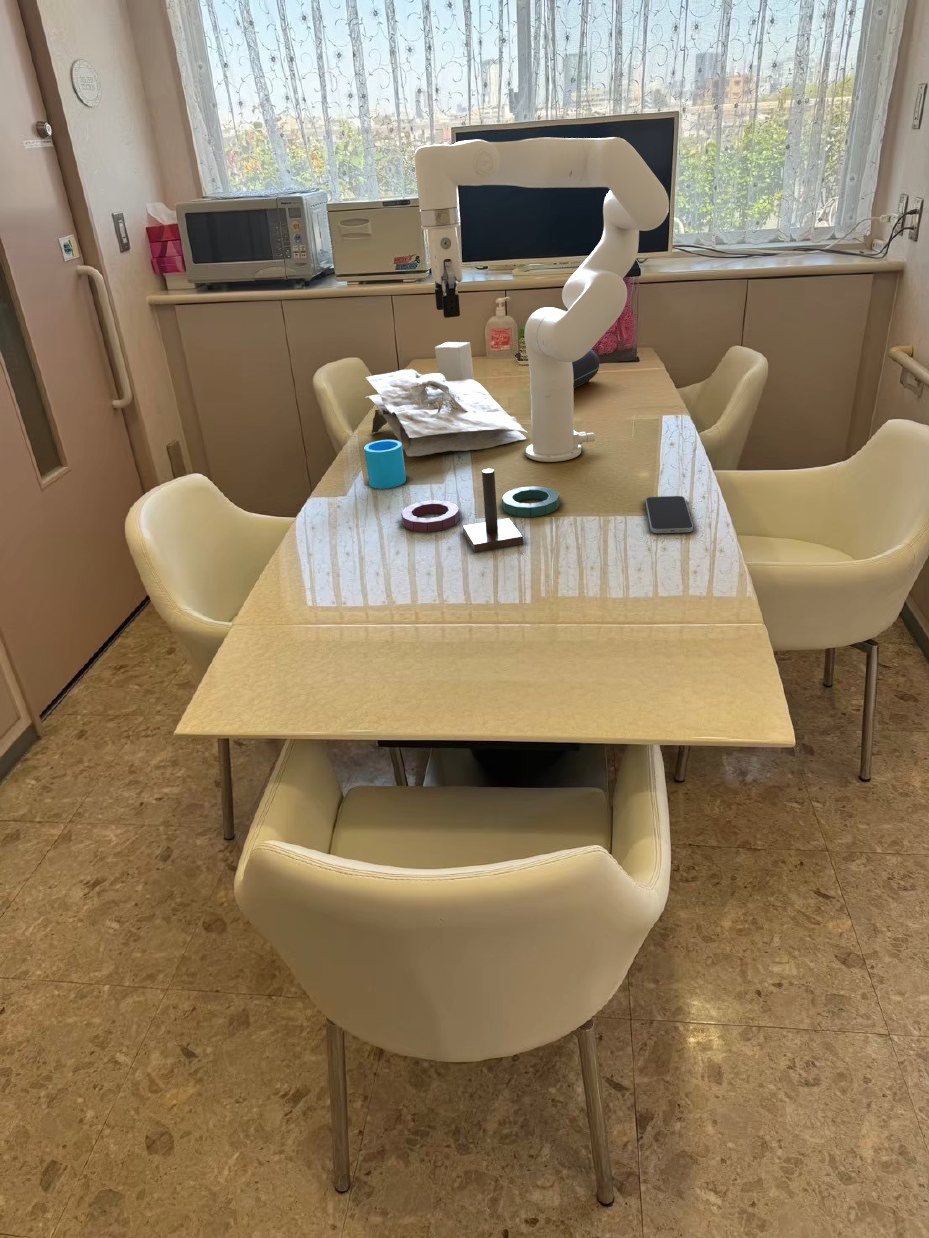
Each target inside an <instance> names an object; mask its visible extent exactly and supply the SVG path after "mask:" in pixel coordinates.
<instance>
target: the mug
mask: <svg viewBox="0 0 929 1238" xmlns="http://www.w3.org/2000/svg"><path fill="white" fill-rule="evenodd" d="M402 447H403V446H402V443H401V442H399V440H395V439H381V440H376V441H372V442H369V443H367V444H365V446H364V447H363V450H364V451H363V452H364V457H365V464H366V472H367V478H368V484H369V487H372V488H375V489H391V488H396V487H400V486H402V485H403V484H405V483H406V482H407V476H406V468H405V467H406V466H405V459H404V449H403V448H402Z"/></svg>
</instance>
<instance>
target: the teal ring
mask: <svg viewBox="0 0 929 1238" xmlns="http://www.w3.org/2000/svg"><path fill="white" fill-rule="evenodd" d="M560 497H561V496H560V494H559V493H558V491H557V490H556V489H553V488H550V487H548V486H547V487H546V486H537V485H536V486H535V485H534V486H533V485H531V486H530V485H529V486H521V487H516V488H513V489H511V490H508V491H507V492H505V493H504V494H503V496H502V497H501V507H502V509H503V511H504V512H505V513H506V514H508V515H511V516H515V517H521V518H522V517H523V518H535V517H541V516H546V515H548V514H551V513H553V512H556V511H557V510H558V508H559V507H560V505H561V503H560V501H561V500H560ZM527 500H541V501H538V502H532V503H531V502H530V503H525V502H521V501H527Z"/></svg>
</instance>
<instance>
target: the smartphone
mask: <svg viewBox="0 0 929 1238" xmlns="http://www.w3.org/2000/svg"><path fill="white" fill-rule="evenodd" d="M645 508H646V512H647V517H648V522H649V528H650V532H651V533H653V534H677V533H691V532H693V530H694V524H693V520H692V517H691V514H690V511H689V507H688V504H687V501H686V498H685V497H684V496H682V495H667V496H649V497H648V496H647V497H646V498H645Z"/></svg>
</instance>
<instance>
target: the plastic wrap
mask: <svg viewBox="0 0 929 1238" xmlns="http://www.w3.org/2000/svg"><path fill="white" fill-rule="evenodd" d="M365 380H367V381H368V383H369V384H370V385H371V386H372V388H373V389H375V390H376V392H377V393H378V394H372V395H367V396H366V398H369V399H370V400H371V401H372V403H373V404H374V405H375V406H376V407H377V409H375V410H374V416H373V419H372V429H371V434H373V433H378V432H379V431H380V430H381V429H382V428H383V427H384V426H386V425H388V427H390V429H391V431H392V432H393V435H394V436H395V437H396V438H397V441H399V442H401V443H402V450H403V451H404V453H405V454H406V455H405V456H406V457H421V456H426V455H432V454H436V453H443V452H450V451H452V452H455V451H457V452H459V451H466V452H468V451H470V450H471V451H474V450H476V451H477V450H478V451H479V450H483V449H490V448H495V447H497V446H500V445H503V446H504V444H510V443H513V442H518V441H524V440H527V439H528V438H527V437H526V436H525V435H524V434H523V433H521V432H520V431H522V432H525V433H528V431H527V430H526V429H525V428H524V427H523V425H522V424H520V423H519V421H518V419H517V418H516V416H511V415H509V413H507V411H505V410H504V409H503V408H502V406H501V405H500V404H499V403H498V402H497V401H496V400H495V399H494V398H493V396H492V395H490V393H489V391H488V390H487V389H486V388H485V387H484V386H483V385H482V384H481V383H480V382H478V381H477V380H475V379H474V380H471V379H468V380H466V379H464V380H462V381H459V380H458V381H447V380H446V378H445V377H444V376H443V374H441V373H438V372H437V373H425V374H421V373H419V372H418V371H417V370H416V369H413V368H409V369H400V370H395V371H393V372H387V373H379V374H374V375H370V376H365Z"/></svg>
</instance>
